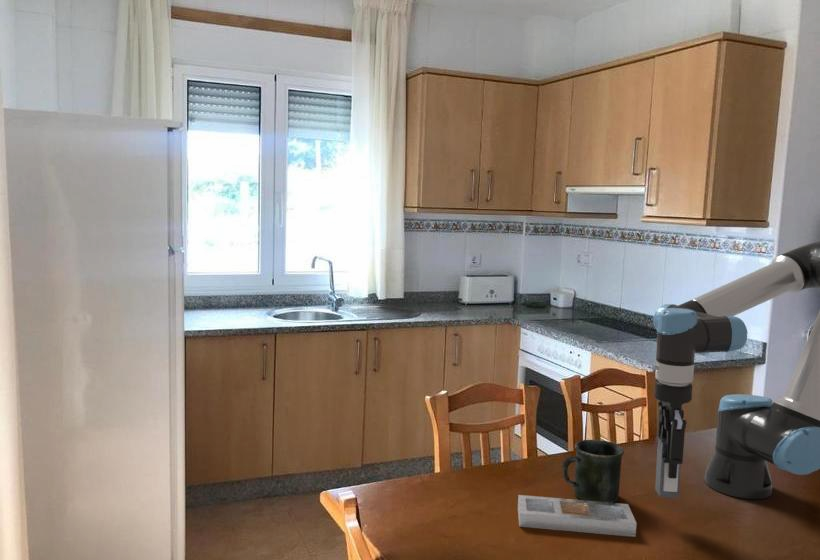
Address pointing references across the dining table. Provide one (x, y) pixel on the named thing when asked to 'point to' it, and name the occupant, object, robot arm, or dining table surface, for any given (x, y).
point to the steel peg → (660, 470)
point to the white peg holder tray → (576, 515)
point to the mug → (595, 470)
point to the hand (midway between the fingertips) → (667, 485)
